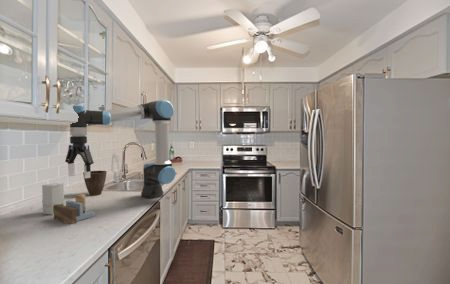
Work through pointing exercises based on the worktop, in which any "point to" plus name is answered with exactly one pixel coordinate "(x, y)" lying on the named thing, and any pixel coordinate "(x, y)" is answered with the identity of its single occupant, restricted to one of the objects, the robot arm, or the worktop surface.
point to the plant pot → (95, 182)
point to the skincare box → (52, 196)
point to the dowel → (81, 200)
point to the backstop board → (65, 214)
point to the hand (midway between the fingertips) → (79, 177)
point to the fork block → (79, 210)
